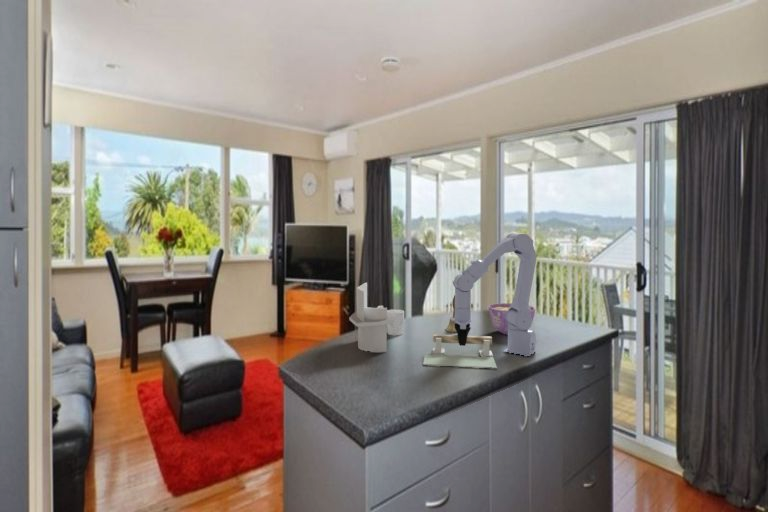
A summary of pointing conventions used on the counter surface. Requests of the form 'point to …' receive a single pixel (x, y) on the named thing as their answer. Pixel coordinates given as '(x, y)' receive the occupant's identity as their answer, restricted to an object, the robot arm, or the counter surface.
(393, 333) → the white cup
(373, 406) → the counter surface
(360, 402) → the counter surface
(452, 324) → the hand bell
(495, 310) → the bowl of food
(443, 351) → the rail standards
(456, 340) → the oak rail
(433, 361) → the green mat
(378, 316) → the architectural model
